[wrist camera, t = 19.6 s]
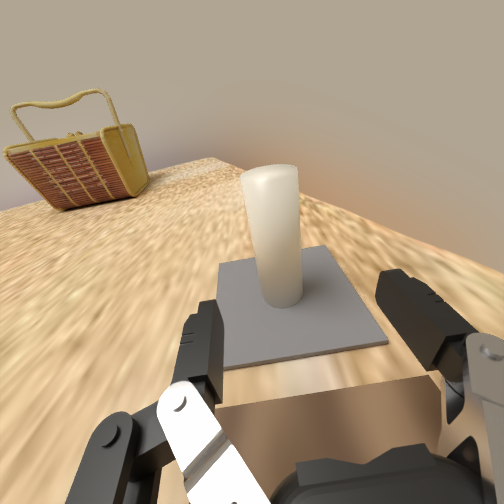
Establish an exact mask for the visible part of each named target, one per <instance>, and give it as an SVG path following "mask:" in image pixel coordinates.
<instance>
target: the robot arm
mask: <svg viewBox="0 0 504 504" xmlns="http://www.w3.org/2000/svg"><path fill="white" fill-rule="evenodd" d="M375 298H376V302H377V304H378V306H379V307H380V309H381V310H382V312H383V313H384V314H385V316H386V317H387V318H388V320H389V321H390V322H391V324H392V325H393V327H394V328H395V329H396V331H397V332H398V333H399V335H400V336H401V337H402V339H403V340H404V341H405V343H406V344H407V346H408V347H409V348H410V350H411V351H412V352H413V354H414V355H415V356H416V358H417V359H418V361H419V362H420V363H421V365H422V366H423V367H424V369H425V370H426V371H433V370H439V371H440V373H441V374H442V377H441V410H442V429H441V434H440V437H439V441H438V448H437V454H434V453H431V452H430V451H429V450H428V448H427V446H426V444H425V443H420V444H414V445H407V446H401V447H394V448H391V449H390V450H388V451H386V452H385V453H383V454H381V455H380V456H378V457H376V458H375V459H373V460H371V461H370V462H368V463H366V464H357V463H351V462H346V461H341V460H335V459H330V458H323V459H317V460H310V461H304V462H297V463H295V464H296V471H294V472H292V473H291V474H289V475H288V476H287V477H286V478H285V479H283V480H282V482H281V483H280V484H279V485H278V486H277V487H276V489H275V490H274V492H273V493H272V495H271V497H270V499H269V500H268V499H267V497H266V496H265V494H264V492H263V491H262V489H261V488H260V486H259V485H258V483H257V482H256V480H255V479H254V477H253V476H252V474H251V472H250V471H249V469H248V468H247V466H246V465H245V463H244V462H243V460H242V459H241V457H240V456H239V454H238V452H237V451H236V449H235V448H234V446H233V445H232V443H231V442H230V440H229V439H228V437H227V436H226V434H225V433H224V431H223V430H222V428H221V427H220V425H219V424H218V422H217V421H216V419H215V417H214V414H215V404H221V403H222V400H223V366H224V322H223V318H222V315H221V313H220V310H219V307H218V304H217V301H216V300H215V299H213V300H208V301H202V302H200V303H199V307H198V313H197V314H191V315H190V316H189V318H188V319H187V321H186V322H185V324H184V327H183V332H182V337H181V341H180V346H179V351H178V355H177V360H176V365H175V369H174V374H173V379H172V382H171V384H170V386H169V387H168V388H167V389H166V390H165V392H164V393H163V394H162V396H161V398H160V399H159V400H158V401H157V402H155V403H153V404H152V405H150V406H148V407H146V408H144V409H142V410H140V411H138V412H137V413H135V414H133V415H131V416H130V415H129V414H128V413H126V412H122V411H121V412H116V413H113V414H111V415H110V416H108V417H107V418H105V419H104V420H103V421H102V422H101V423H100V424H99V425H98V426H97V428H96V429H95V430H94V432H93V433H92V435H91V437H90V439H89V442H88V444H87V447H86V450H85V452H84V455H83V457H82V460H81V463H80V465H79V468H78V471H77V473H76V476H75V479H74V481H73V484H72V486H71V489H70V492H69V494H68V497H67V500H66V502H65V504H157V499H158V492H159V485H160V478H161V471H162V467H164V466H165V465H167V464H168V463H170V462H172V461H173V460H175V459H177V461H178V463H179V466H180V468H181V470H182V473H183V476H184V486H185V489H186V492H187V495H188V497H189V500H190V502H191V504H504V340H502V339H500V338H498V337H496V336H493V335H490V334H486V333H480V332H478V331H477V330H476V329H475V328H474V327H473V326H472V325H470V324H469V323H468V322H467V321H466V320H465V319H464V318H463V317H462V316H461V315H460V314H458V313H457V312H456V311H455V310H454V309H453V308H452V307H451V306H450V305H449V304H447V303H446V302H444V300H443V299H442V298H441V297H440V296H439V295H436V293H435V292H434V291H433V290H432V289H431V288H430V287H429V286H428V285H427V284H425V283H423V282H421V281H420V280H418V279H416V278H414V277H412V278H410V277H409V276H408V275H407V274H406V273H405V272H404V271H402V270H401V269H392V270H386V271H382V272H380V275H379V279H378V284H377V288H376V293H375Z"/></svg>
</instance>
